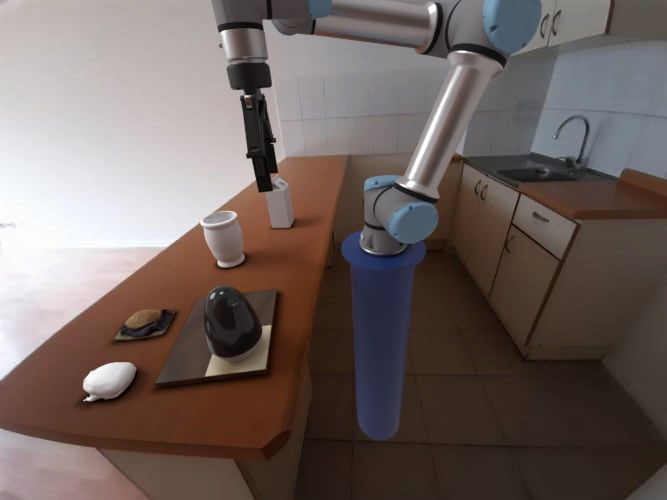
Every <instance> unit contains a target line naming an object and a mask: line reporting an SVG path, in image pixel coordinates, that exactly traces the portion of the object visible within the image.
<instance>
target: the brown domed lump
mask: <svg viewBox="0 0 667 500" xmlns="http://www.w3.org/2000/svg"><path fill="white" fill-rule="evenodd" d="M175 314H176V312H175V311H172V310H171V309H166V308H162V309H161V310H158V309H149V308H148V309H141V310H139V311H137V312H134V313H132V314H131V315H130V316H129V317H128V318H127V319H126V320H125V322H124V324H123V325H122V326H120V329H119V331H118V333H116V336H115V337H114V341H118V342H119V341H134V340H140V339H141V340H142V339H146V338H147V339H149V338H152V337H159V336H162V335H163V336H164V334H165V333H166V332H167V329H168V328H169V326H170V323H171V322H172V321H173V318H174V316H175Z"/></svg>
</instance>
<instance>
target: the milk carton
mask: <svg viewBox="0 0 667 500" xmlns="http://www.w3.org/2000/svg"><path fill="white" fill-rule="evenodd" d="M271 182H272V187H273V191H272V192H264V193H265V198H266V204H267V210H268V214H269V219H270V224H271V228H272V229H290V228H291V227H292V225H293V223H294V222H295V217H294V210H293V203H292V197H291V196H292V195H291V190H290V185H289V183H288V182H286V181H285V180H284V179H282V178H281V177H280V176H279V173H276V174H275V176H274V177H273V178H271Z"/></svg>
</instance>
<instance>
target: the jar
mask: <svg viewBox="0 0 667 500" xmlns="http://www.w3.org/2000/svg"><path fill="white" fill-rule="evenodd" d="M199 223H200V226H201V228H203V235H204V239H205V242H206V244H207V246H208V248H209V250H210V251H211V254H212V255H213V256H214V258H215V260H217V266H219V267H220V268H225V269H226V268H232V267H233V268H234V267H236V266H238V265H240V264H242V263H243V262H244V261H245V259H246V257H245V254H244V239H243V237H244V236H243V232H242V228H241V225H240V224H239V222H238V213H236V212H235V211H234V210H233V211H232V210H221V211H215V212H211V213H209V214H207V215H205V216H203V217H202V218H201V219H200V220H199Z"/></svg>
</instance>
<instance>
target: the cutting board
mask: <svg viewBox="0 0 667 500" xmlns="http://www.w3.org/2000/svg"><path fill="white" fill-rule="evenodd" d="M241 293H242V294H243V295H244V296H245V297H246V299H247V300H248V301H249V302H250V304H251V305H252V307H253V308H254V310H255V311H256V313H257V315H258V317H259V319H260V321H261V324H262V329H263V331H262V336H261V340H260V343H259V345H258V347H257V349H256V350H255V351H254V352H253V353H252V354H251V355H250V356H248V357H247V358H245V359H243V360H240V361H235V362H229V361H224V360H222V359H220V358H218V357H217V356H215V355H213V354H212V353H211V352H210V350H209V348H208V346H207V342H206V338H205V332H204V306H205V301H206V298H207V296H200V297H197V299H196V301H195V302H194V304H193V306H192V309H191V311H190V313H189V315H188V317H187V319H186V321H185V323H184V324H183V327H182V328H181V330H180V333H179V335H178V337H177V338H176V341H175V343H174V344H173V347H172V349H171V350H170V353H169V354H168V356H167V358H166V360H165V363H164V364H163V366H162V368H161V369H160V370H161V371H160V372H159V374H158V376H157V378H156V380H155V382H154V385H155V386H156V388H157V389H160V388H168V387H175V386H176V387H177V386H184V385H192V384H201V383H208V382H215V381H224V380H232V379H241V378H248V377H254V376H262V375H263V376H264V375H268V371H269V364H270V363H269V362H270V356H271V347H272V338H273V331H274V322H275V315H276V308H277V307H276V306H277V301H278V300H277V299H278V289H277V288H272V289H264V290H254V291H245V292H241Z"/></svg>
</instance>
